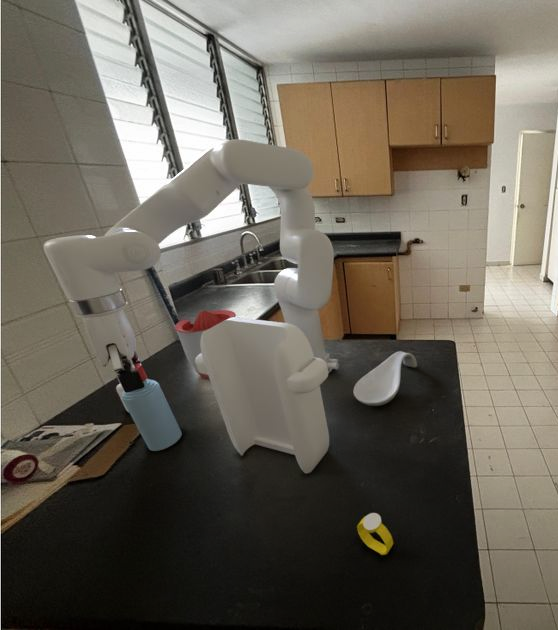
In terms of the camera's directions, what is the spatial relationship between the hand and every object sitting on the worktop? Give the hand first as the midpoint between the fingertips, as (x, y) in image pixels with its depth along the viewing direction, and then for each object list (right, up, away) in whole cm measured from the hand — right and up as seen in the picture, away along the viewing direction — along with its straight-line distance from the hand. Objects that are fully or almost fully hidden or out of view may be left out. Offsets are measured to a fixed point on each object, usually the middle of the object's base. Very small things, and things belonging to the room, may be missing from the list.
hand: (136, 383), depth 70 cm
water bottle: (+1, -14, +7) cm, 16 cm away
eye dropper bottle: (-14, -11, +18) cm, 25 cm away
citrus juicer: (-3, -3, +35) cm, 35 cm away
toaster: (+31, -15, +3) cm, 34 cm away
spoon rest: (+51, -6, +22) cm, 56 cm away
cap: (0, +1, 0) cm, 1 cm away
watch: (+53, -22, -17) cm, 60 cm away
